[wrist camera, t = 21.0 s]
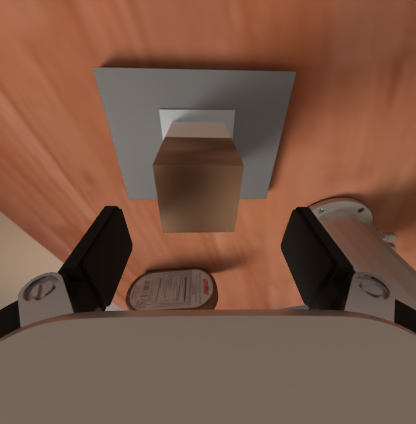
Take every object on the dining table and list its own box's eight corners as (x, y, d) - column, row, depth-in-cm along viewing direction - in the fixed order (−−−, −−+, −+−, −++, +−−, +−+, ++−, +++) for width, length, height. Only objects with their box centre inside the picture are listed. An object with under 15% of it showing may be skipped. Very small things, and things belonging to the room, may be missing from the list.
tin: (136, 279, 37) (122, 328, 30) (131, 269, 35) (115, 318, 28) (216, 274, 37) (220, 321, 30) (215, 263, 35) (219, 311, 28)
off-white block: (224, 122, 19) (231, 138, 15) (221, 170, 22) (226, 194, 18) (171, 121, 18) (164, 137, 15) (176, 170, 22) (171, 194, 18)
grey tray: (289, 71, 18) (297, 71, 16) (262, 192, 26) (266, 199, 24) (100, 66, 17) (91, 67, 16) (132, 193, 25) (128, 200, 24)
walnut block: (231, 137, 15) (244, 165, 11) (226, 194, 18) (234, 232, 14) (164, 136, 14) (152, 165, 11) (170, 194, 18) (162, 232, 14)
